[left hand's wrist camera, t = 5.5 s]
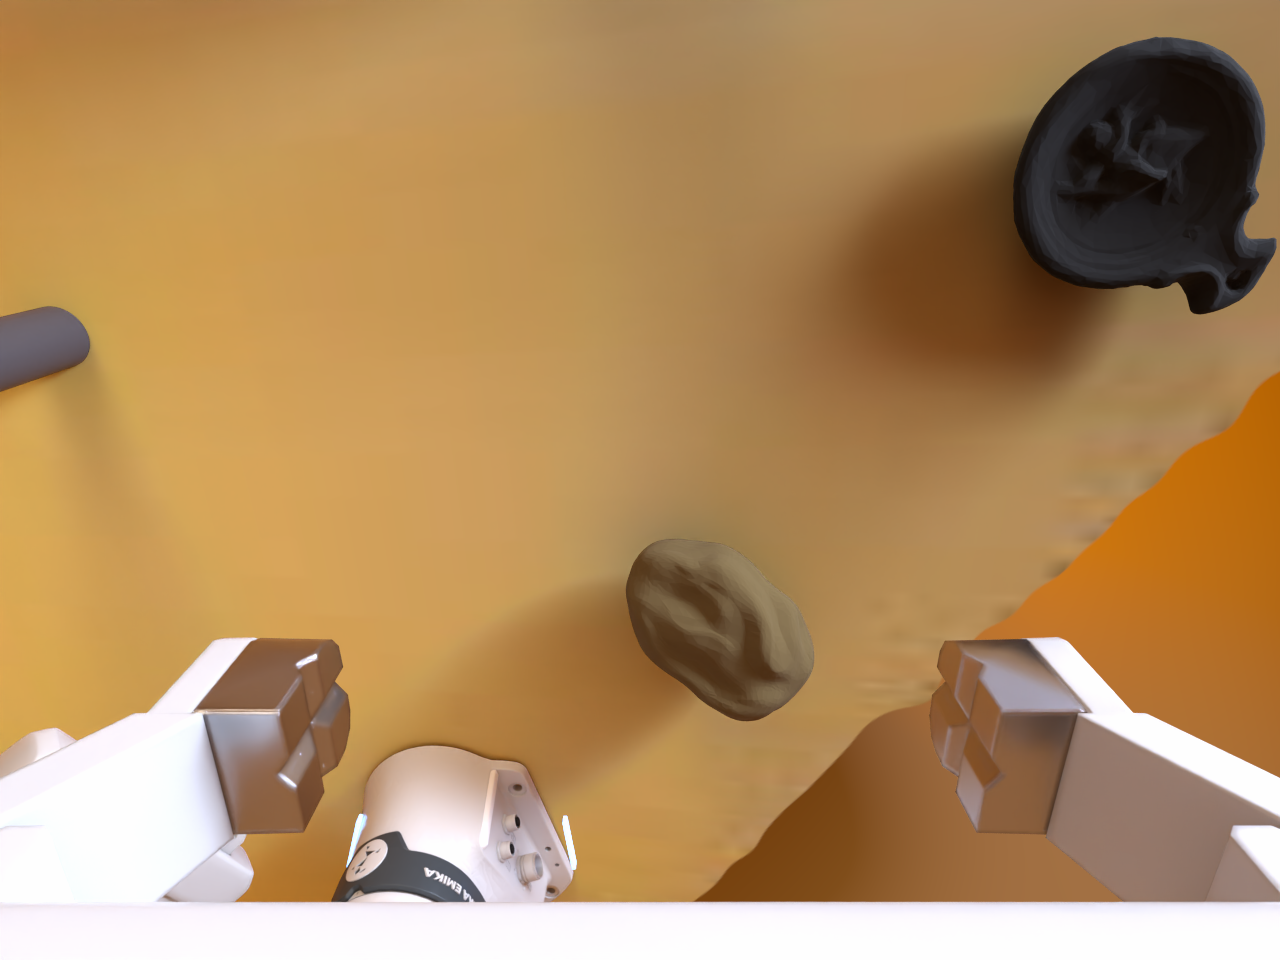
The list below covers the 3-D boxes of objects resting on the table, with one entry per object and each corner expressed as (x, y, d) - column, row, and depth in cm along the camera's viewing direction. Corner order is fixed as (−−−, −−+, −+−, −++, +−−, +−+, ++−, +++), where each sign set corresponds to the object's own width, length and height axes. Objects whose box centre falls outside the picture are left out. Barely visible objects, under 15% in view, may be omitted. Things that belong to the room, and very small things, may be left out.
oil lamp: (1113, 369, 58) (1155, 386, 53) (944, 181, 53) (973, 182, 48) (1293, 212, 53) (1355, 216, 49) (1127, -8, 49) (1179, -26, 44)
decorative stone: (590, 577, 64) (582, 646, 55) (681, 483, 61) (688, 539, 52) (738, 688, 68) (754, 769, 59) (830, 605, 65) (862, 677, 56)
